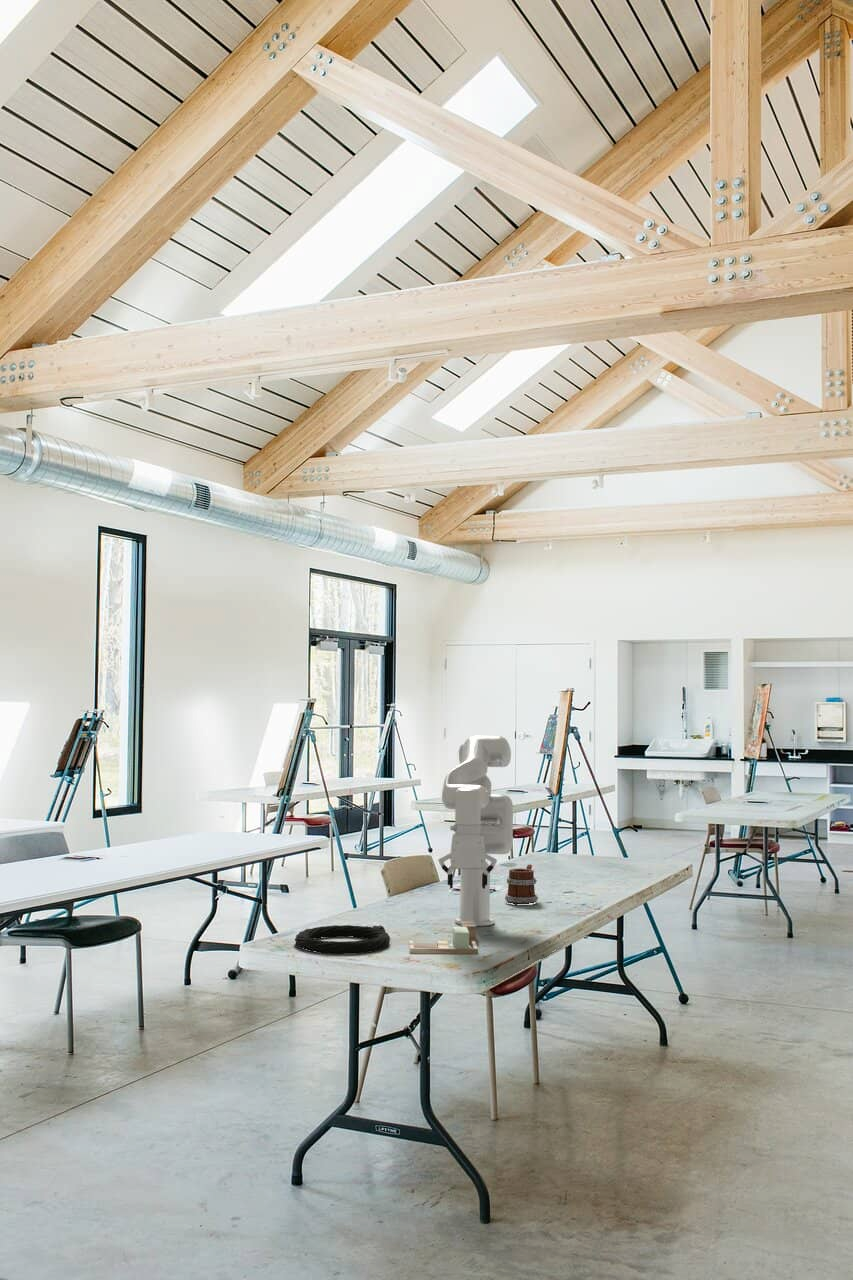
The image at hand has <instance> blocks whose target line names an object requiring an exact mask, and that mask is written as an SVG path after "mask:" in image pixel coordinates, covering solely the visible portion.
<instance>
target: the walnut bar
mask: <svg viewBox="0 0 853 1280" xmlns="http://www.w3.org/2000/svg"><path fill="white" fill-rule="evenodd" d="M459 927H467V929H468V931H469V944H471V940H475V943H477V926H476V925H475V923H474V921H461V925H460V926H459Z"/></svg>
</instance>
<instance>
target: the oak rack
mask: <svg viewBox="0 0 853 1280" xmlns="http://www.w3.org/2000/svg"><path fill="white" fill-rule="evenodd" d="M408 941H409V944H408V945H410V946H409V954H461V953H479V948H478V946H477V944H476V943H477V942H476V943H475V940H471V943H469V948H454V947H453V943H449V942H448V939H436V943H432V942H431V943H429V942H428V943H423V942H422V943H420V942H419V943H416V942H415V943H414V939H410V938H409V939H408Z"/></svg>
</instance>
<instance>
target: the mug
mask: <svg viewBox="0 0 853 1280" xmlns="http://www.w3.org/2000/svg"><path fill="white" fill-rule="evenodd" d="M532 867H533V866H532V864H527V866H526V868H511V869H509V871H508V877H507V878H506V883H507V884H508V885H507V886H508V887H507V894H505V898H504V901H506V903H507V902H508V903H513V904H529V903H534V902H536V903H537V901H538V899H539V897H538V896H537V895H536V890H535V889H536V888H535V884H537V881H538V880H537V879H536V877H535V876H534V875H535V873H534V872H535V870H533V869H532Z"/></svg>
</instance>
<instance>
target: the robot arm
mask: <svg viewBox="0 0 853 1280" xmlns="http://www.w3.org/2000/svg"><path fill="white" fill-rule="evenodd" d="M511 759H512V749H511V746H510V744H509V741H508V740H507V738H505V737H503V736H499V735H474V736H473V735H472V736H469V737H468V738H467V739H466V740H465V741H464V743H462V744H461V745H460V746H459V749H458V760H459V761H458V762H459V764H458V765H457V766H455V767H454V768H452V769H451V770H450V771H448V773H447V774H446V775H445V777H444V782H443V786H442V787H443V788H442V793H441V801H442V804H443V806H444V808H447V809H449V810H454V811H455V812H454V813H455V814H454V815H455V816H454V824H453V825H450V827H449V828H450V831H453V832H454V833H453V834H452V837H451V844H450V853H448V854H446V855H444V856H441V857H439V858H438V862H439V865H440V867H441V869H442V870H443V871H444V872H445V873H446V874H447V886H449V888H450V889H453V888H454V887H453V885H454V883H453V882H454V880H453V877H454V876H453V872H454V871H455V870H460V883H459V884H460V886H459V887H460V888H459V889H460V890H459V891H460V897H459V898H460V899H459V901H460V902H459V903H460V904H459V908H460V909H459V910H460V911H459V917H455V919H454V921H455V924H457V925H460V926H461V921H474V923H475V925H476V927H485V926H487V927H488V926H491V925H492V926H493V924H495V919H494V918H493V917H491V914H490V913H491V912H490V911H491V910H490V908H491V907H490V905H491V904H490V903H491V901H490V899H491V896H490V895H491V891H490V890H491V889H490V888H491V872H492V871H493V870H494V868H495V866H496V865H497V863H498V860H497V859H496V858H495V857H493V856H491V855H507V854H509V853H510V852H511V850H512V847H513V840H514V839H513V835H514V833H513V832H514V804H513V800H512V798H511V797H510V796H508V795H506V794H495V793H494V794H493V793H492V782H491V779H490V778H489V776H488V775H487V773H488V768H505V767H508V766H509V765H510V762H511ZM448 860H450V866H449V867H448V866H447V865H446V864H445V862H446V861H448ZM487 860H488V861H489V862H490V864H489V863H488V861H487Z"/></svg>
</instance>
